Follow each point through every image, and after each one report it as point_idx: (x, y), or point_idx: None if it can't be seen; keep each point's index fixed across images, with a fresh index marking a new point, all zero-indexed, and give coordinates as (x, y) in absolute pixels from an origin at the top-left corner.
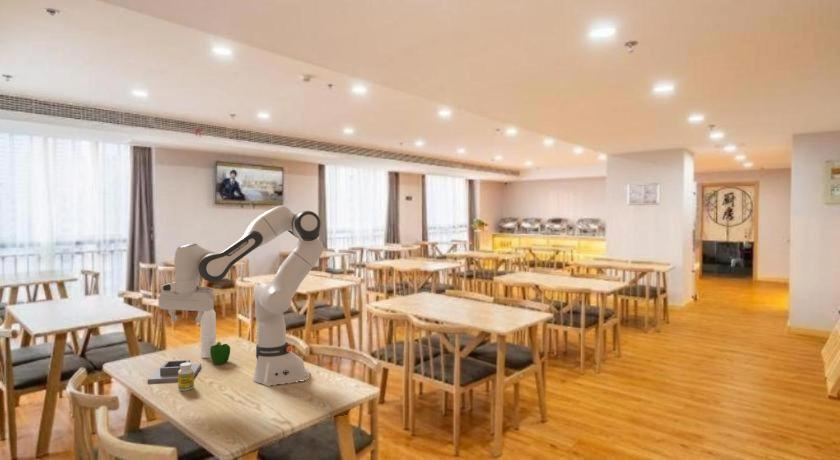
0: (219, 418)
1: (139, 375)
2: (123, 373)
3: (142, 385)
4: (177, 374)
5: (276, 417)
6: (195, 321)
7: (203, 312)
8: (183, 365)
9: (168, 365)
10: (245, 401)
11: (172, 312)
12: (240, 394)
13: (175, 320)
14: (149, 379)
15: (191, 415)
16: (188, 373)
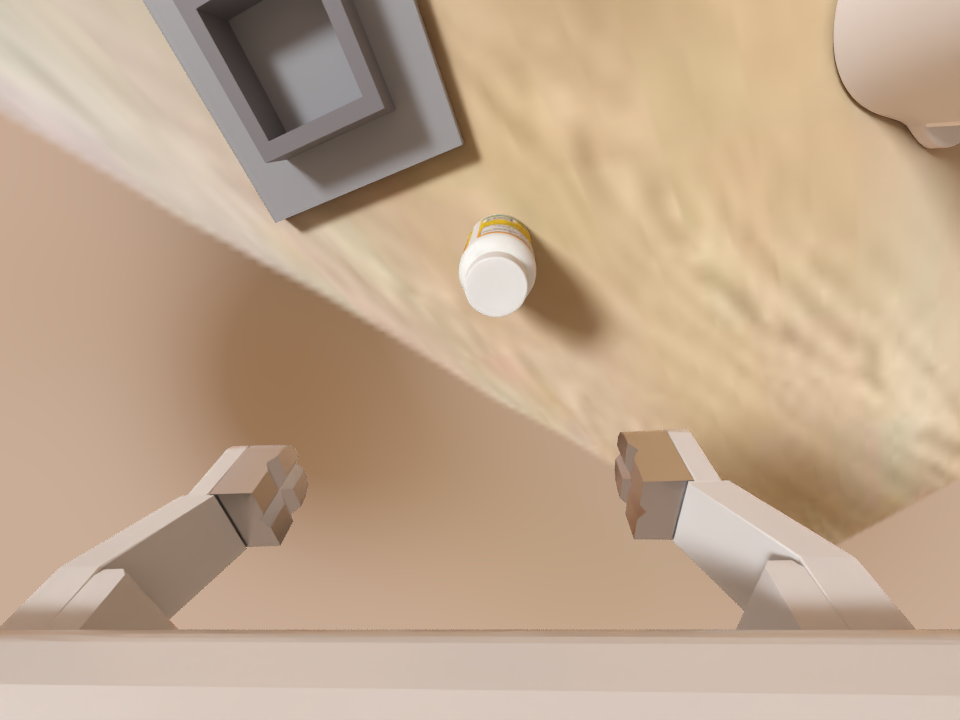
0: (738, 447)
1: (145, 122)
2: (39, 109)
3: (287, 247)
4: (363, 125)
5: (939, 426)
6: (621, 488)
7: (852, 598)
8: (497, 311)
9: (218, 26)
10: (812, 331)
11: (145, 579)
12: (779, 271)
13: (303, 484)
14: (283, 219)
15: None
16: (527, 295)
